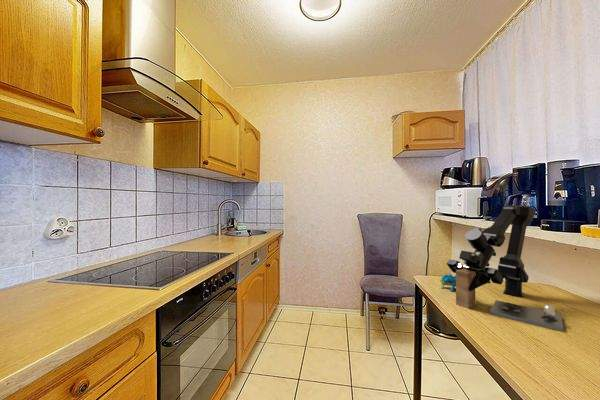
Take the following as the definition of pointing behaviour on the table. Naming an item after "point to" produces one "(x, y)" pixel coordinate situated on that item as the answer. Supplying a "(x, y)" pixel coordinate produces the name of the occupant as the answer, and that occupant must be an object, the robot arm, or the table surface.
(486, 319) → the table surface
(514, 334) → the table surface
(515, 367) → the table surface
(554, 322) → the bolt plate
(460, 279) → the post
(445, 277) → the teal bumpy cluster
